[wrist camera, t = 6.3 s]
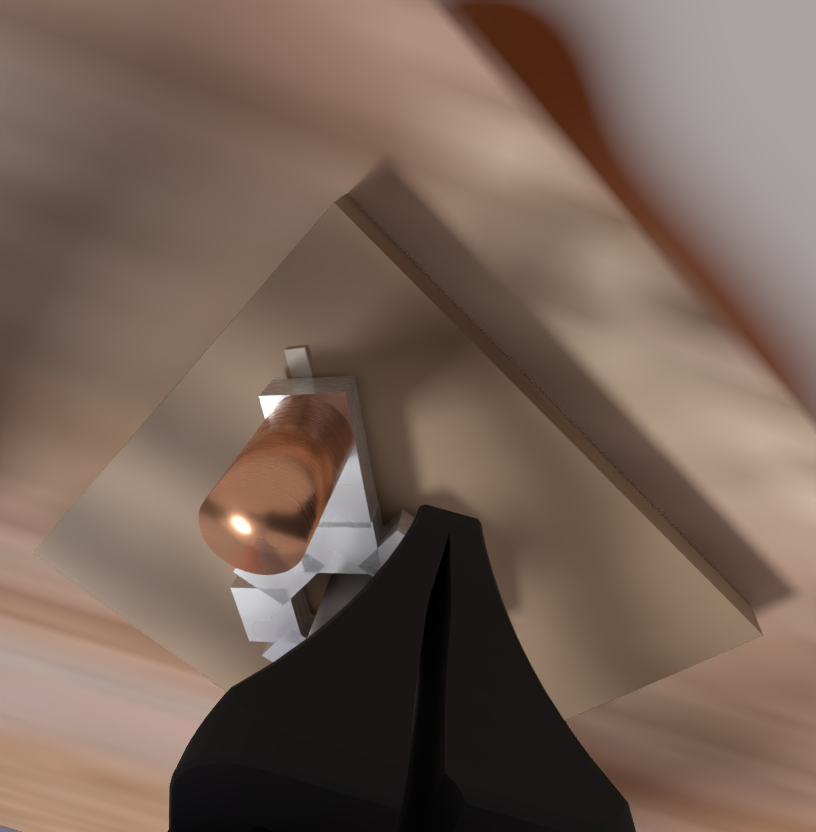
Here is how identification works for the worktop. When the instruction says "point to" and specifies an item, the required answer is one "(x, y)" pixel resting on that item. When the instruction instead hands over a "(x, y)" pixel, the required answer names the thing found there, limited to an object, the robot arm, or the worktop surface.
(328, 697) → the robot arm
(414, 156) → the worktop surface
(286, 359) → the jig base
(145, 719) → the worktop surface
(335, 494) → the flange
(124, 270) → the worktop surface
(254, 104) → the worktop surface
